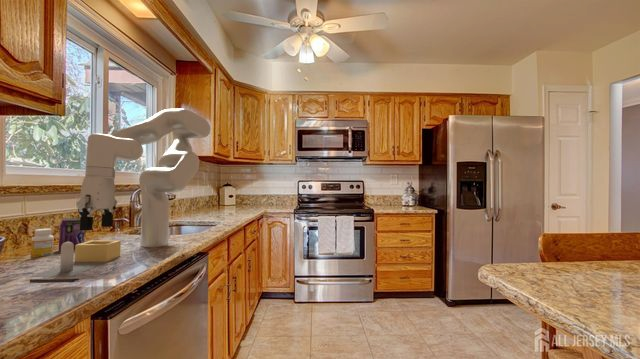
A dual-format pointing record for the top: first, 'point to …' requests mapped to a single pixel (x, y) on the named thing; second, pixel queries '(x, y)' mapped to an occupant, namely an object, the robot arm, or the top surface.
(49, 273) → the keeper board
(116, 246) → the tan hollow block
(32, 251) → the supplement bottle
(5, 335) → the top surface
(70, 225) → the beverage can
